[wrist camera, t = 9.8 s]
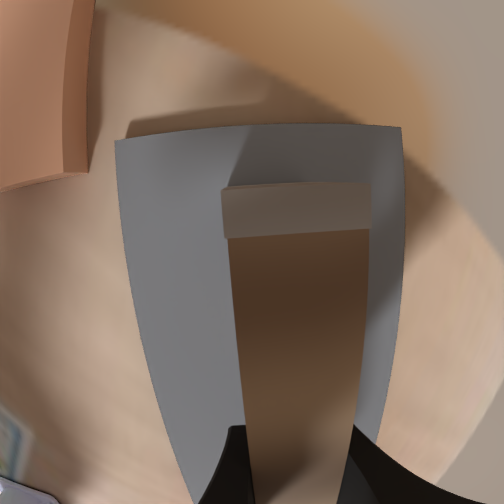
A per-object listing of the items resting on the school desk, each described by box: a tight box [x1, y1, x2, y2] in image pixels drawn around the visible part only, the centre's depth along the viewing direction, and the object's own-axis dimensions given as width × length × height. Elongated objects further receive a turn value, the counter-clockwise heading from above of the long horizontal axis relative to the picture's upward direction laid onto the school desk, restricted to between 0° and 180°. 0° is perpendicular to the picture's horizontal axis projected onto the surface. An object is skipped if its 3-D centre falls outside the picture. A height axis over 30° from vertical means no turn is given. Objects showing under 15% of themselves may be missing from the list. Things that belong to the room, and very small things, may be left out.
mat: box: [115, 123, 405, 504], centre depth 12 cm, size 20×10×1 cm, turn 4°
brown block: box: [220, 182, 372, 504], centre depth 9 cm, size 15×3×5 cm, turn 4°
